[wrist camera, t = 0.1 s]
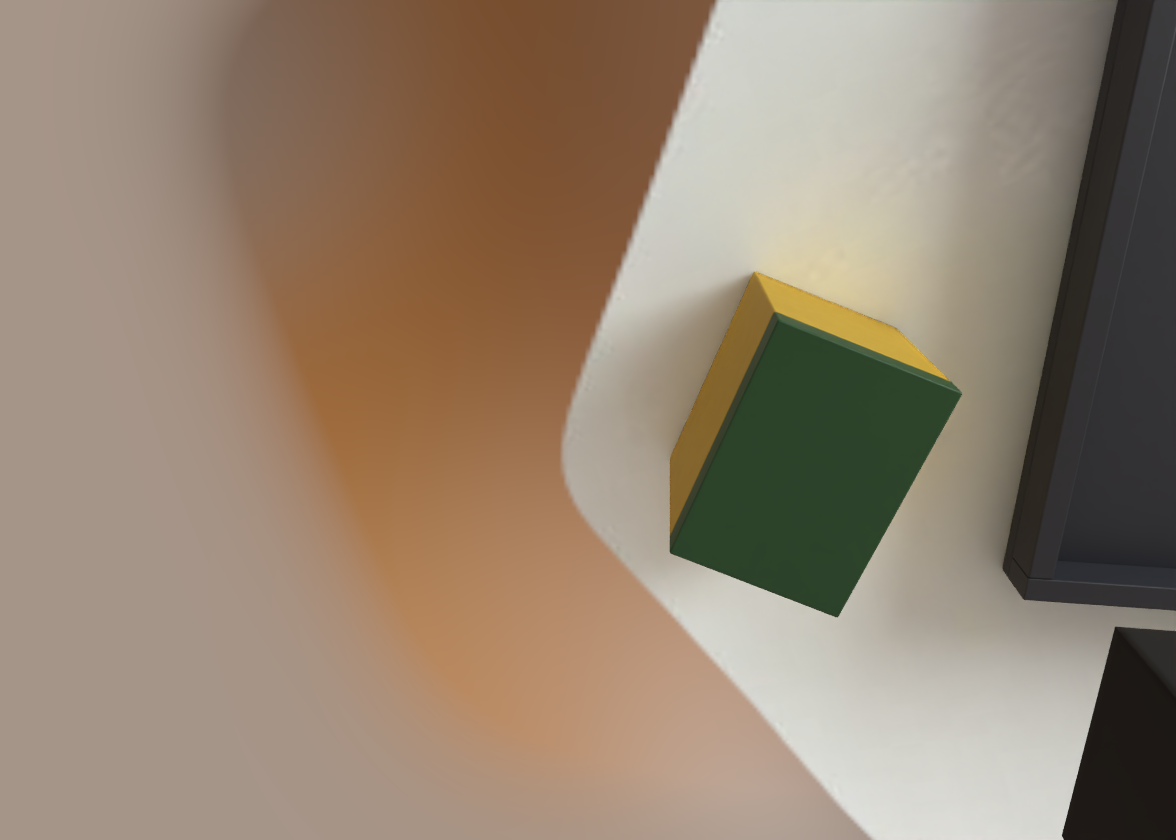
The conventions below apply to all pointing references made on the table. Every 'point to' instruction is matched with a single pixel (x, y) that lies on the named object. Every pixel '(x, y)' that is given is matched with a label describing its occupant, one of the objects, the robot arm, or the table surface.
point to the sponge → (802, 445)
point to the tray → (1112, 352)
